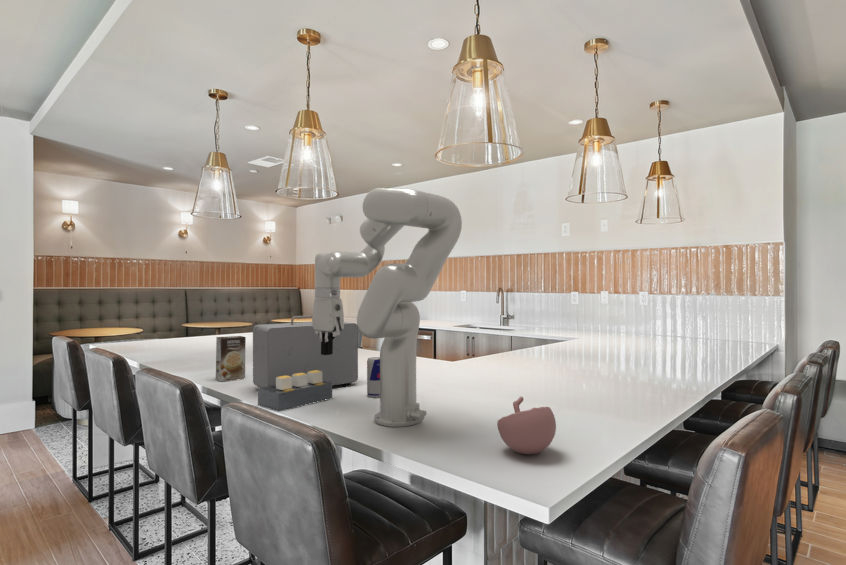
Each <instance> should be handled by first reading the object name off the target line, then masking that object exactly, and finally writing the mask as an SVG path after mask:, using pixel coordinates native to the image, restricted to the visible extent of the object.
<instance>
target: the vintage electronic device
mask: <svg viewBox="0 0 846 565" xmlns="http://www.w3.org/2000/svg"><path fill="white" fill-rule="evenodd" d="M309 318H310V319H312V315H294V316H292V317H291V318H290V322H286V323H270V324H269V323H267V324H255V325H253V327H252V383H253V385H255V386H256V387H258V388H261V387H267V386H272V385H276V378H277V377H280V376H285V375H286V376H291V377H292V375H293V374H297V373H306V374H307V372H308V371H314V370H318V371H321V372H322V381H327V382H332V386H337V385H343V386H344V385H345V386H344V387H350V386H351V383H356V382H357V381H358V378H359V340H358V339H359V329H358V326H357V323H353V322H347V321H344V329H343V331H340V336H337V337H335V338H334V341H333V354H331V355H321V342H322V341H320V337H319V335H317V334H316V333H315V330H314V329H313V326H312V321H306V322H305V321H304V322H294V320H295V319H309ZM349 385H350V386H349Z"/></svg>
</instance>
